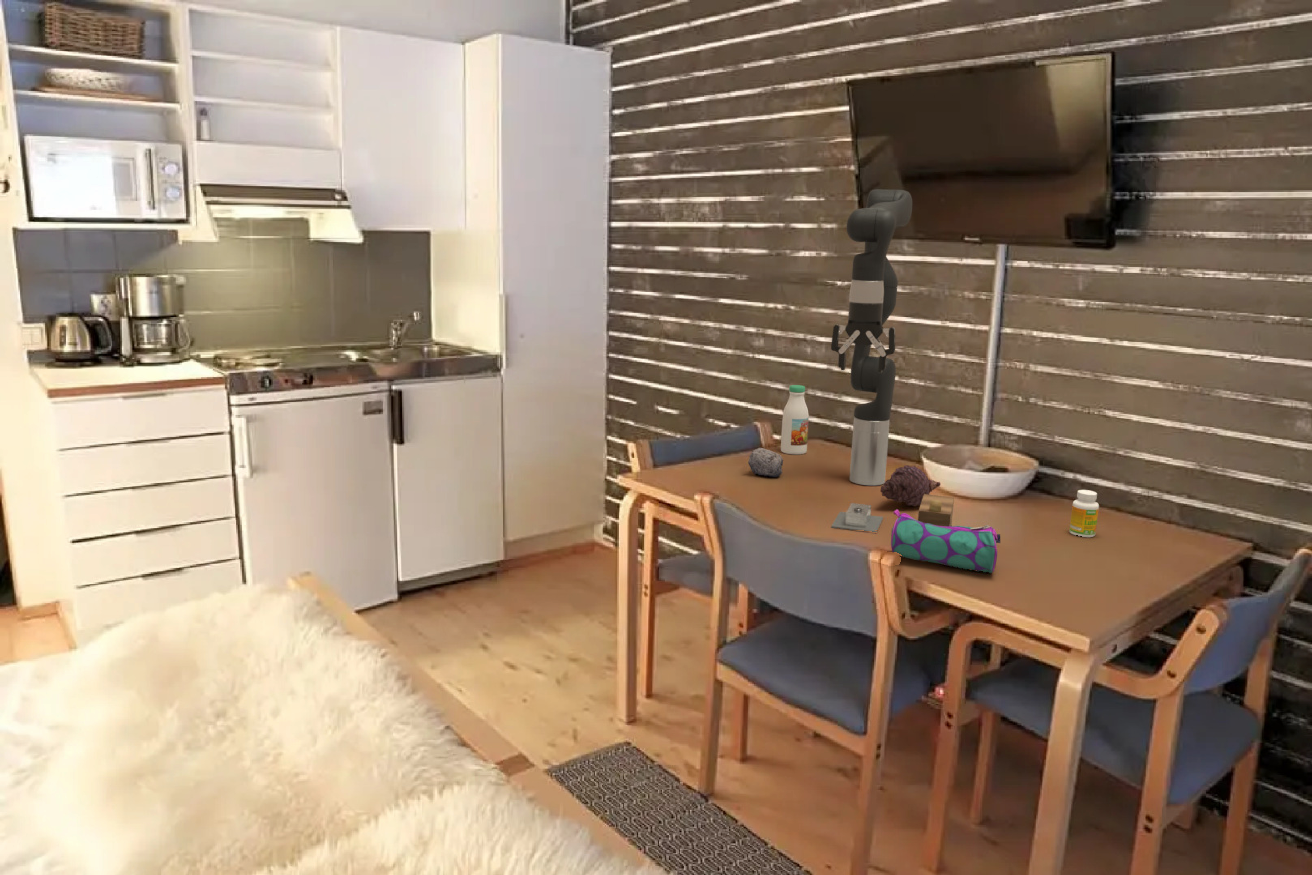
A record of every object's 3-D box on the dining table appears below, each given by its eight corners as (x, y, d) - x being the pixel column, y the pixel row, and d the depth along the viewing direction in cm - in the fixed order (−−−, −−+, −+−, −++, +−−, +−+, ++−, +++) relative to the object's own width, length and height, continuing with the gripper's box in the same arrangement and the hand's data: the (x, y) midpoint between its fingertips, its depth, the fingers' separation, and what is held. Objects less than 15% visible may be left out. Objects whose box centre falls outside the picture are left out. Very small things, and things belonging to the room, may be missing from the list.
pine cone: (892, 515, 223) (895, 474, 221) (864, 504, 232) (867, 465, 230) (948, 507, 232) (951, 467, 229) (919, 496, 240) (922, 458, 238)
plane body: (920, 525, 217) (924, 485, 214) (951, 529, 214) (955, 488, 212) (914, 544, 203) (918, 501, 201) (948, 548, 201) (952, 505, 199)
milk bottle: (780, 454, 281) (783, 387, 277) (781, 448, 289) (784, 383, 284) (806, 455, 280) (810, 388, 276) (806, 449, 287) (810, 384, 283)
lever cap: (850, 515, 221) (851, 501, 221) (870, 517, 220) (871, 503, 219) (845, 525, 214) (846, 510, 213) (865, 527, 213) (866, 513, 212)
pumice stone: (789, 484, 257) (768, 466, 265) (796, 459, 254) (774, 442, 261) (758, 488, 252) (738, 469, 259) (766, 462, 248) (744, 444, 256)
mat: (839, 513, 224) (840, 511, 224) (883, 518, 221) (883, 516, 221) (831, 527, 213) (831, 525, 213) (876, 533, 210) (876, 531, 210)
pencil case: (998, 565, 192) (1003, 519, 190) (994, 579, 184) (999, 532, 182) (893, 549, 200) (897, 505, 198) (885, 562, 192) (889, 516, 190)
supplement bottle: (1084, 539, 210) (1089, 496, 208) (1063, 531, 215) (1068, 490, 212) (1100, 535, 212) (1106, 494, 210) (1080, 528, 217) (1085, 487, 215)
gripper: (900, 300, 217) (894, 370, 221) (837, 297, 222) (833, 366, 225) (896, 303, 210) (891, 375, 214) (832, 300, 215) (827, 371, 219)
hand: (861, 371), depth 220 cm, fingers open, 8 cm apart
